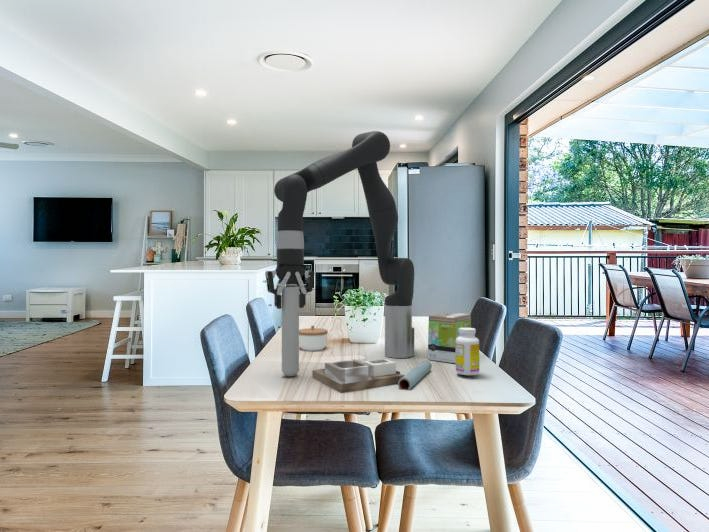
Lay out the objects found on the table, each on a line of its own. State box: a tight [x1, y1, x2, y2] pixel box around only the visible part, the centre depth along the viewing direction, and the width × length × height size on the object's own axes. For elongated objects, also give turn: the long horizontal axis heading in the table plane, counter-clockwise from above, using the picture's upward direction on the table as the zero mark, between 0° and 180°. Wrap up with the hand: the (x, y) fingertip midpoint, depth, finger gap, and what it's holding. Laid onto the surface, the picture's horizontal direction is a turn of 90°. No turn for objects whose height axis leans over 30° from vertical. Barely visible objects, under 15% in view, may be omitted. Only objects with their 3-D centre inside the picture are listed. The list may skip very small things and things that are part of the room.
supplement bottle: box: [455, 327, 480, 376], centre depth 128 cm, size 7×7×13 cm
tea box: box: [427, 312, 472, 364], centre depth 150 cm, size 15×10×15 cm, turn 148°
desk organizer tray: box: [312, 359, 406, 393], centre depth 120 cm, size 19×17×6 cm
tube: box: [281, 285, 300, 377], centre depth 124 cm, size 5×5×25 cm
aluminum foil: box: [397, 359, 432, 391], centre depth 122 cm, size 23×7×3 cm, turn 157°
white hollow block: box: [363, 358, 397, 377], centre depth 119 cm, size 7×5×3 cm
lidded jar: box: [299, 325, 328, 352], centre depth 160 cm, size 11×11×9 cm
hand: (290, 307), depth 124 cm, fingers open, 6 cm apart
